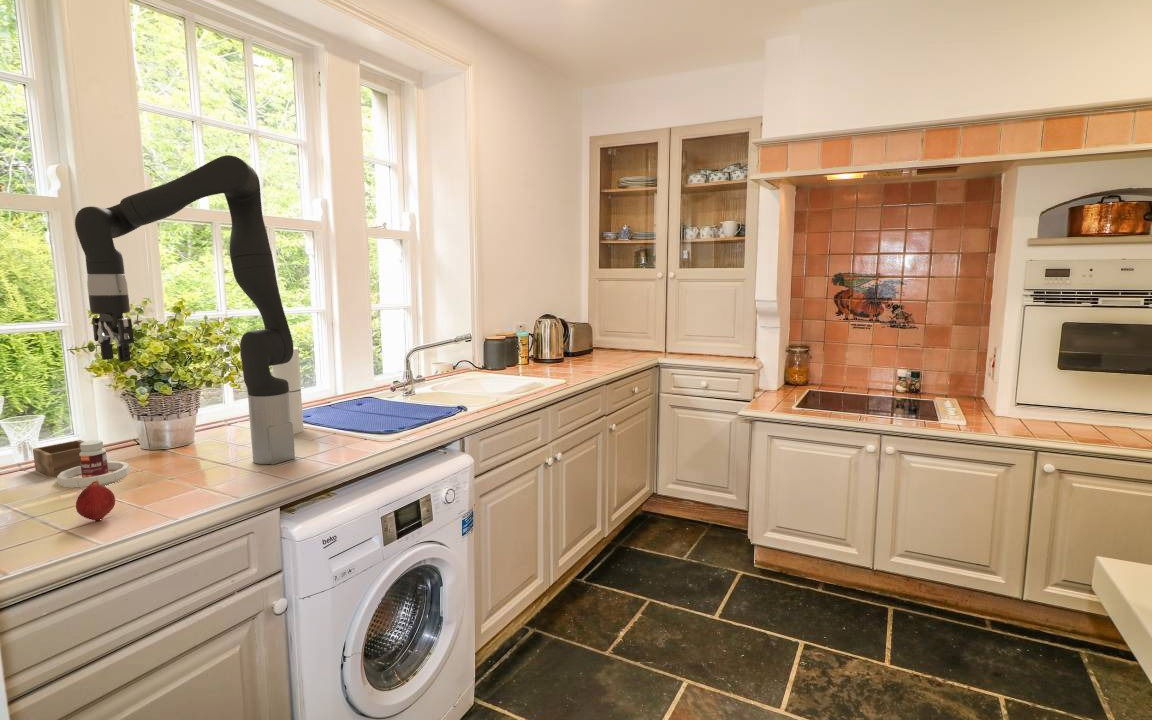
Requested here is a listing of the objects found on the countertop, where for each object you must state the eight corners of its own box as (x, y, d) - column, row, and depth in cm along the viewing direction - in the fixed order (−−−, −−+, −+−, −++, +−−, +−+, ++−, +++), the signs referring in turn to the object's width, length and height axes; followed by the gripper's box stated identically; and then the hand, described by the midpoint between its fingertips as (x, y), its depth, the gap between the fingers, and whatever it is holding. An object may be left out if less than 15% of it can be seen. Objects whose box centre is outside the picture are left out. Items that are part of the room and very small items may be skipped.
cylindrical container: (284, 435, 172) (278, 351, 169) (272, 431, 177) (266, 348, 173) (308, 430, 178) (302, 348, 174) (296, 426, 182) (290, 346, 179)
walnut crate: (98, 469, 143) (95, 445, 142) (50, 480, 135) (47, 455, 134) (82, 463, 147) (79, 439, 146) (35, 473, 140) (32, 448, 139)
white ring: (139, 477, 137) (137, 467, 137) (72, 494, 127) (71, 483, 126) (115, 468, 144) (114, 458, 143) (50, 483, 133) (49, 472, 133)
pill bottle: (79, 482, 132) (74, 446, 131) (86, 476, 136) (81, 441, 135) (106, 479, 134) (101, 443, 133) (111, 473, 138) (107, 438, 137)
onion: (85, 529, 110) (80, 488, 108) (73, 522, 113) (68, 482, 111) (122, 519, 114) (118, 479, 113) (109, 512, 117) (105, 473, 116)
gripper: (141, 293, 141) (148, 360, 143) (112, 292, 148) (119, 356, 150) (104, 294, 135) (112, 364, 137) (75, 293, 142) (84, 360, 144)
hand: (116, 360), depth 144 cm, fingers open, 8 cm apart
